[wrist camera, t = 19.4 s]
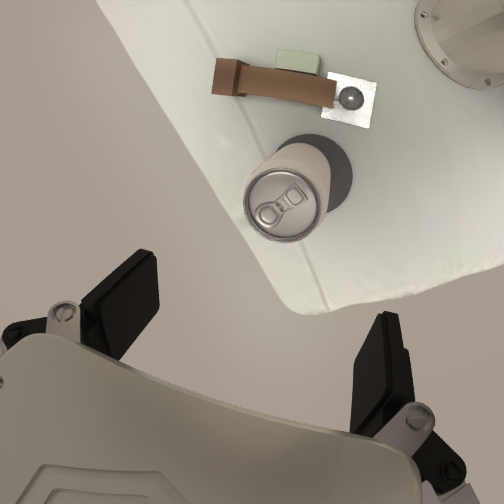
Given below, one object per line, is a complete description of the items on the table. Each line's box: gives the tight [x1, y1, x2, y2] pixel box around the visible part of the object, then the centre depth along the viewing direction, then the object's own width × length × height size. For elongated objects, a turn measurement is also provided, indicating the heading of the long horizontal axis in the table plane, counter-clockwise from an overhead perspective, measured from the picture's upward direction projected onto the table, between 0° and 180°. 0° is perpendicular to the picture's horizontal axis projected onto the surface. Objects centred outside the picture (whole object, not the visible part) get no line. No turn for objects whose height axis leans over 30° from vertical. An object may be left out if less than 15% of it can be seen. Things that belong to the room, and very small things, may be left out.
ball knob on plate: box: [321, 72, 377, 129], centre depth 24 cm, size 5×5×6 cm
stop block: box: [274, 49, 320, 76], centre depth 25 cm, size 4×2×3 cm, turn 83°
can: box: [243, 143, 331, 243], centre depth 26 cm, size 6×6×12 cm
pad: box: [276, 134, 352, 213], centre depth 31 cm, size 9×9×1 cm
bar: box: [212, 58, 337, 109], centre depth 25 cm, size 4×11×4 cm, turn 81°
